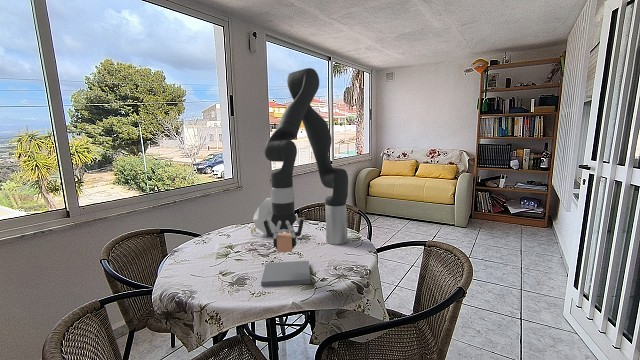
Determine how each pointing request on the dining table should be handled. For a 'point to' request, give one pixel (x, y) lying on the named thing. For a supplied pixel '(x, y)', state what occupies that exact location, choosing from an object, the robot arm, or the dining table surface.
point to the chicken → (265, 213)
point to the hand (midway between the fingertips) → (285, 247)
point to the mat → (286, 273)
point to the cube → (284, 242)
